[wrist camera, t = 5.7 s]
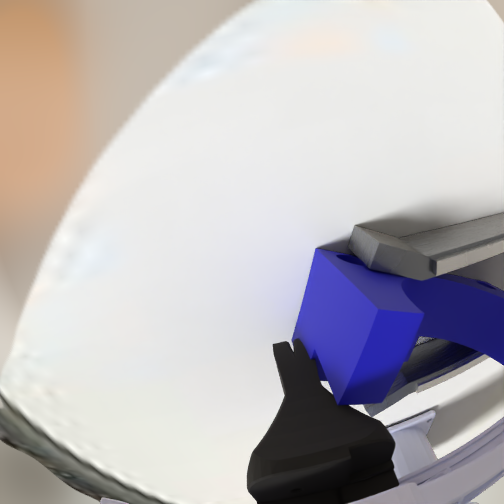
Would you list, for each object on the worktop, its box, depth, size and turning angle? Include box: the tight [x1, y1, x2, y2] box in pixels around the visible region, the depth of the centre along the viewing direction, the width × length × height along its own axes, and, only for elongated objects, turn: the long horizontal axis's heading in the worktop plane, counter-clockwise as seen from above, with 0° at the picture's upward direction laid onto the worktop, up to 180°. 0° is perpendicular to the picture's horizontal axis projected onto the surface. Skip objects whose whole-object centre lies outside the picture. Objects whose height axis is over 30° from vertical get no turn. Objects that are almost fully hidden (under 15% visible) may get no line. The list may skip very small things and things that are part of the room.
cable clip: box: [292, 248, 504, 405], centre depth 10 cm, size 12×4×6 cm, turn 79°
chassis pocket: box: [348, 213, 504, 417], centre depth 11 cm, size 10×17×3 cm, turn 102°
